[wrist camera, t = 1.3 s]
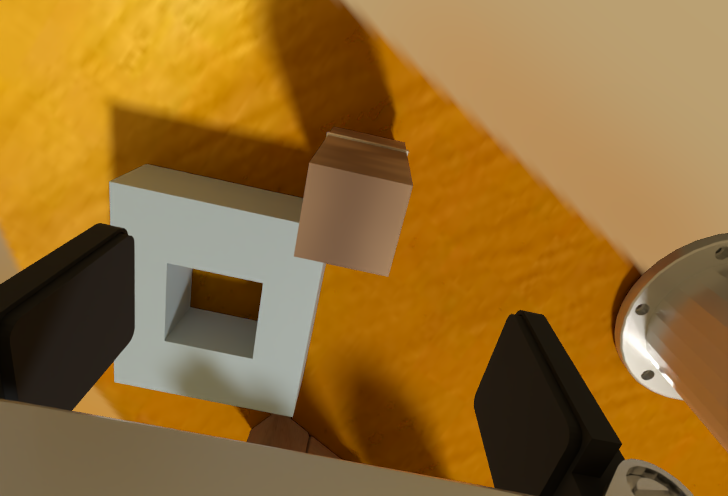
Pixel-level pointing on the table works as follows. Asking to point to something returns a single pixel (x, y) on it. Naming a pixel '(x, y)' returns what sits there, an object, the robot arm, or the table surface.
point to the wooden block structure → (287, 436)
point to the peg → (354, 201)
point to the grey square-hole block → (222, 256)
